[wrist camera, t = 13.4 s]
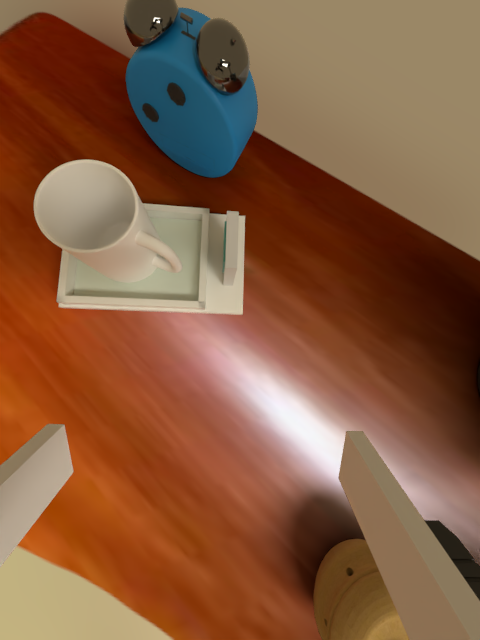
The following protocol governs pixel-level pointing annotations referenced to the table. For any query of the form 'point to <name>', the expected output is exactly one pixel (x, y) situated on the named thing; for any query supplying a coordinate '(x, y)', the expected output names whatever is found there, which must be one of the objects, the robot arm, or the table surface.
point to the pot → (354, 597)
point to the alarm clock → (190, 84)
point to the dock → (166, 287)
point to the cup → (101, 221)
